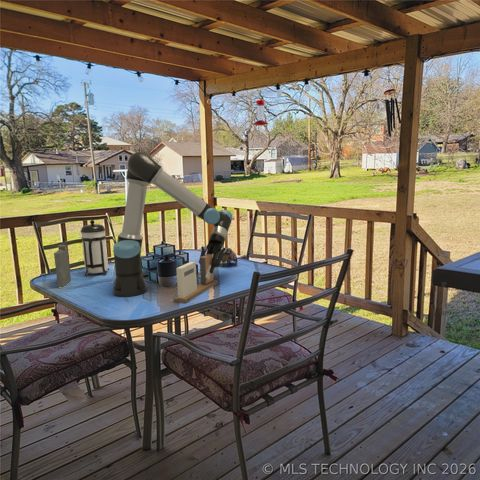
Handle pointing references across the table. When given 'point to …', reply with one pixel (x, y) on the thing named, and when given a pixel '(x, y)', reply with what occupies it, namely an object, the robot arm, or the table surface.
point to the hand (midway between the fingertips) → (204, 278)
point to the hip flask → (62, 266)
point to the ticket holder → (189, 283)
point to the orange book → (205, 268)
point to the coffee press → (94, 248)
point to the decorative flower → (228, 257)
